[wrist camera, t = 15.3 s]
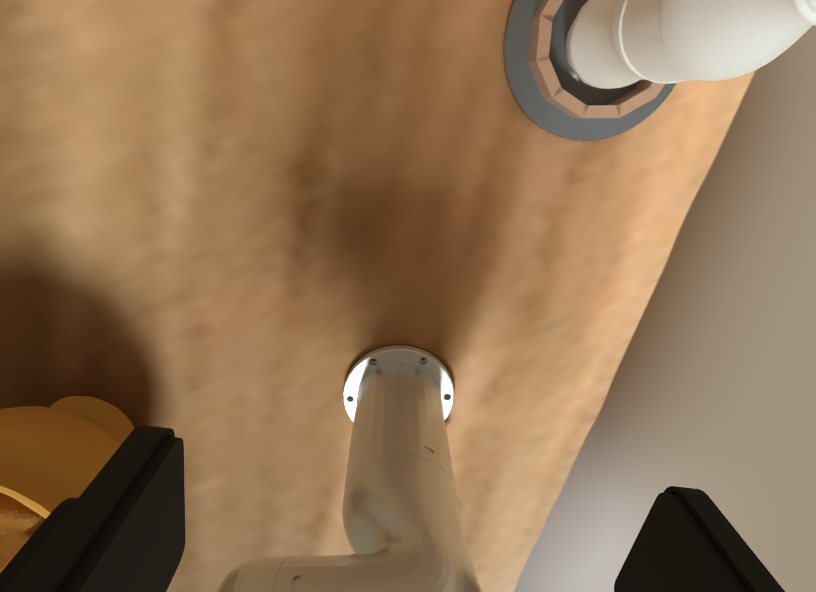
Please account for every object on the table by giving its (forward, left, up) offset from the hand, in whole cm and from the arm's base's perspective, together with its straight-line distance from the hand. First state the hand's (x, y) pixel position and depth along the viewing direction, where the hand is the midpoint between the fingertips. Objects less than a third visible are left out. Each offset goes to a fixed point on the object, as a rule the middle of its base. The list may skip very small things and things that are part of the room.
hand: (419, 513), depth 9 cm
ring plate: (+2, -21, -38) cm, 44 cm away
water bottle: (+2, -21, -38) cm, 43 cm away
